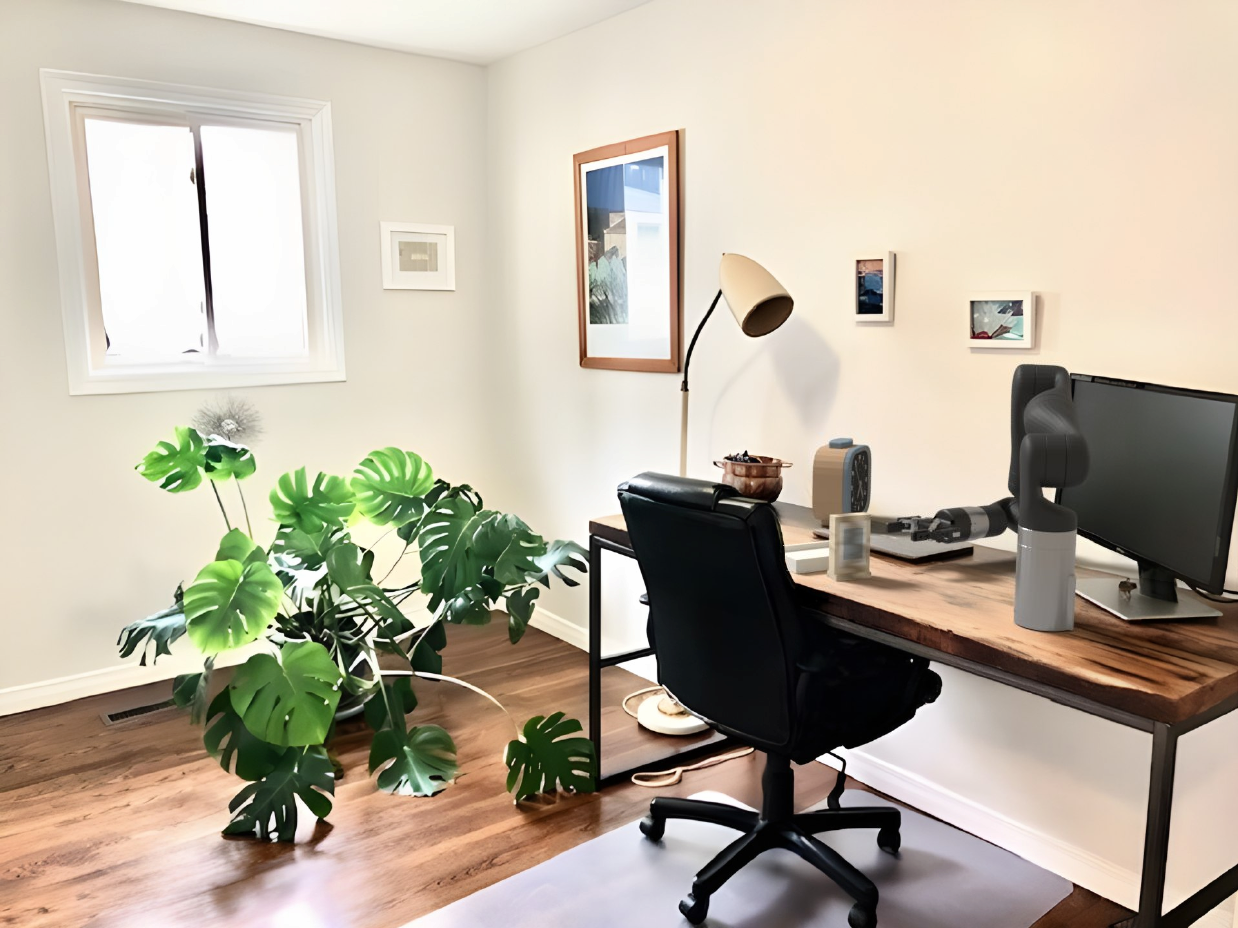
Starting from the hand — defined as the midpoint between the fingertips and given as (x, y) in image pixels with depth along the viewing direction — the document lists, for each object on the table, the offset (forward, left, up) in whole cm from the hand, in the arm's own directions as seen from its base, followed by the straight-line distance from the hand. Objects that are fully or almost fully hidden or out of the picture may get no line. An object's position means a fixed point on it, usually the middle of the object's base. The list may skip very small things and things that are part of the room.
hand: (899, 532), depth 202 cm
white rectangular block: (+17, +1, -8) cm, 19 cm away
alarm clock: (+16, -46, -8) cm, 50 cm away
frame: (+9, +8, -8) cm, 15 cm away
